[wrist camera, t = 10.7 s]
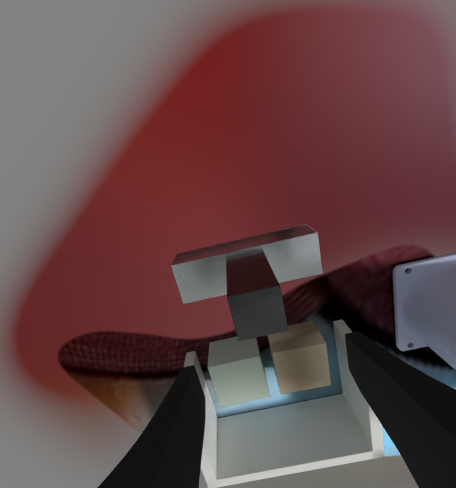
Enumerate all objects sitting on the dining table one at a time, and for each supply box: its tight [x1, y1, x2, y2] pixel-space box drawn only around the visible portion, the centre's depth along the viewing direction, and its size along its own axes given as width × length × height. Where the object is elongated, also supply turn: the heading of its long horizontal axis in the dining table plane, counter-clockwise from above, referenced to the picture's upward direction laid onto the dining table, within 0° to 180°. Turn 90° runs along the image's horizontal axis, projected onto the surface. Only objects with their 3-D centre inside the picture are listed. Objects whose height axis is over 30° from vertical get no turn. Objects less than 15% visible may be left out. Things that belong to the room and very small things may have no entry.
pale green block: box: [208, 336, 270, 407], centre depth 21 cm, size 4×4×3 cm
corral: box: [184, 320, 384, 488], centre depth 20 cm, size 14×9×5 cm, turn 103°
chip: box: [267, 321, 331, 394], centre depth 21 cm, size 4×4×3 cm
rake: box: [171, 224, 323, 341], centre depth 16 cm, size 10×3×8 cm, turn 103°
